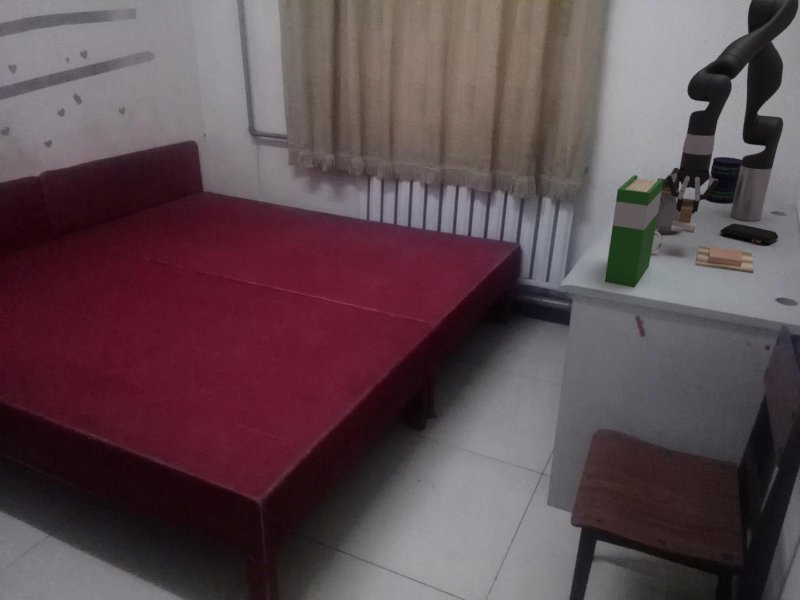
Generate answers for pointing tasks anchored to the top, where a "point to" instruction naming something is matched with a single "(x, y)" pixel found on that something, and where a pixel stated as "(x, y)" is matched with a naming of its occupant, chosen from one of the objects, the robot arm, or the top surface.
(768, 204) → the top surface
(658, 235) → the ring
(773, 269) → the top surface
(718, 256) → the tile
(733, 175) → the storage jar
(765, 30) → the robot arm
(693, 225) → the brown rectangular block
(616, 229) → the hardback book
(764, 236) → the carrying case or bag
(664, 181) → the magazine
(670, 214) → the coffee pot
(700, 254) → the board
